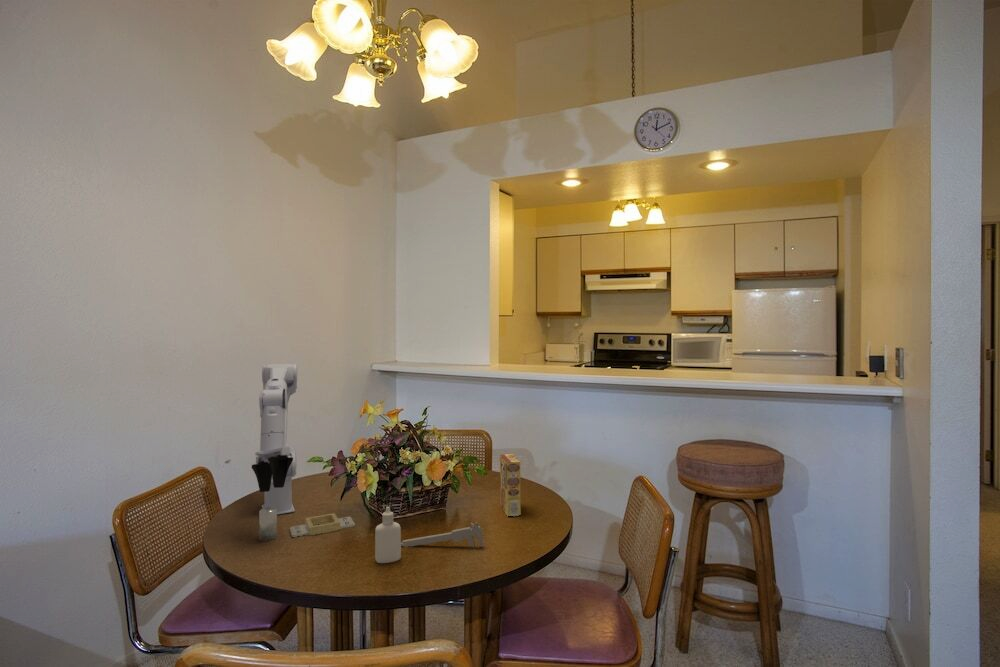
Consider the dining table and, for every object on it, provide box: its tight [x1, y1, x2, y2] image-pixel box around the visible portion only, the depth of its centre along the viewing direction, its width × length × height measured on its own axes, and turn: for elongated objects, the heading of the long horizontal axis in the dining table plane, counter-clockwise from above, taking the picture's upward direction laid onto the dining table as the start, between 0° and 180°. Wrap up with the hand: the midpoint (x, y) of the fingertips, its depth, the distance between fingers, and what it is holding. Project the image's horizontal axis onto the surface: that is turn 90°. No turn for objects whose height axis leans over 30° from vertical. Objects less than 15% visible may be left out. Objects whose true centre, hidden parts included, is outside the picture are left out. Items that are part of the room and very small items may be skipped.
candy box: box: [499, 453, 522, 518], centre depth 148 cm, size 9×4×15 cm, turn 13°
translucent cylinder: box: [258, 507, 278, 541], centre depth 130 cm, size 4×4×7 cm
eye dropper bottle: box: [374, 506, 402, 564], centre depth 118 cm, size 4×6×12 cm
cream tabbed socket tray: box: [289, 512, 356, 538], centre depth 136 cm, size 8×16×2 cm, turn 118°
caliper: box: [401, 521, 483, 548], centre depth 125 cm, size 20×1×6 cm, turn 88°
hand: (271, 489), depth 129 cm, fingers open, 7 cm apart
